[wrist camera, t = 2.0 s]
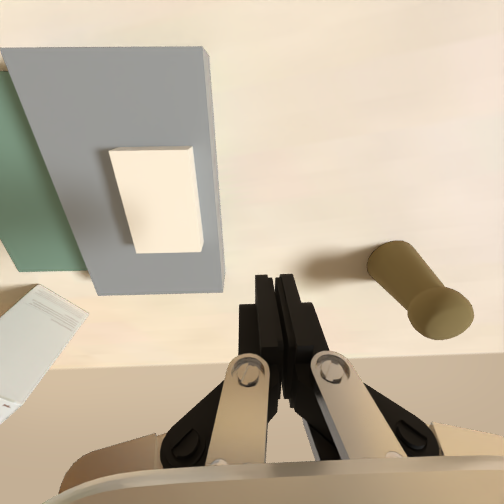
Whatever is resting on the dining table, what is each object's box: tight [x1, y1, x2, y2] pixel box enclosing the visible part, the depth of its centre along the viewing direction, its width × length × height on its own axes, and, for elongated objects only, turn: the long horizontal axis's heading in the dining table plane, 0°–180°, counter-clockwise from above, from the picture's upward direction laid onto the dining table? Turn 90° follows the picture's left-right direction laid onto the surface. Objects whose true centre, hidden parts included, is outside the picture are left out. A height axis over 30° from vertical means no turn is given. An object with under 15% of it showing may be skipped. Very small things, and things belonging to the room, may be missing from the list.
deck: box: [0, 46, 225, 296], centre depth 25 cm, size 22×14×4 cm, turn 1°
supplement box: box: [0, 285, 89, 424], centre depth 30 cm, size 7×7×13 cm
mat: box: [0, 71, 88, 272], centre depth 26 cm, size 20×10×1 cm, turn 1°
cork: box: [367, 241, 474, 340], centre depth 28 cm, size 6×6×11 cm
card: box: [109, 146, 204, 254], centre depth 23 cm, size 9×6×2 cm, turn 1°
